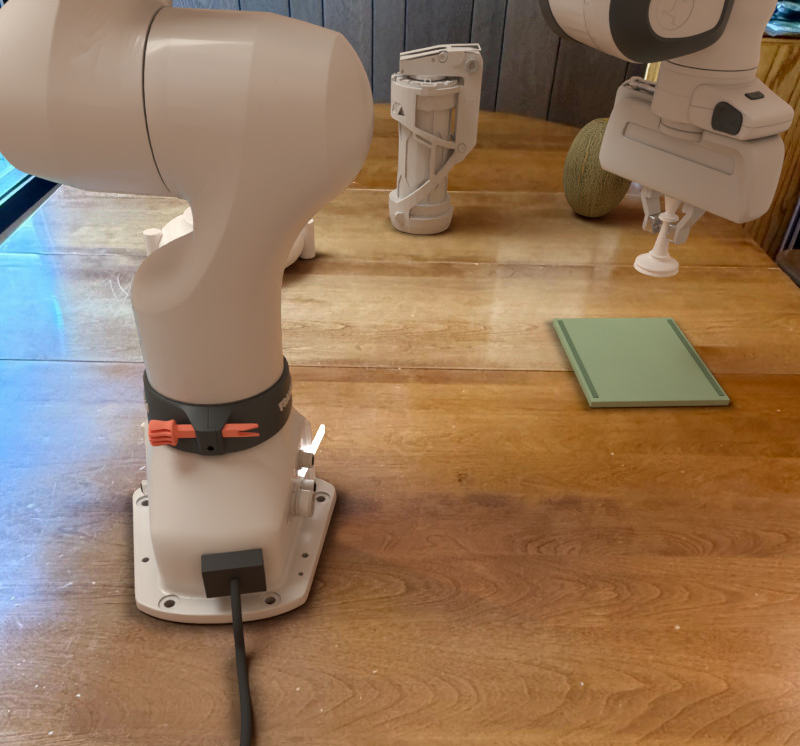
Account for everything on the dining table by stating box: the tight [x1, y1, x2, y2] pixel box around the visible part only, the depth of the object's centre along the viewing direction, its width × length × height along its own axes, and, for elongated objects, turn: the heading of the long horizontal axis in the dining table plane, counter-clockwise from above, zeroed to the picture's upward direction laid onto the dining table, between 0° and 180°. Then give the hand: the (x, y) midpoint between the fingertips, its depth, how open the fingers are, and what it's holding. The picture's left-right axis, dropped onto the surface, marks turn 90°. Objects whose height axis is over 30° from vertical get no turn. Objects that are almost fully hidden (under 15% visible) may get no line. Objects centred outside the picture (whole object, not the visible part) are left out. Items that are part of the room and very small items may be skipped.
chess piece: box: [633, 194, 683, 278], centre depth 84 cm, size 5×5×10 cm
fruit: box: [562, 117, 633, 218], centre depth 126 cm, size 11×11×15 cm
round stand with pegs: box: [142, 206, 316, 269], centre depth 111 cm, size 24×24×7 cm
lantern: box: [388, 43, 484, 235], centre depth 118 cm, size 13×10×25 cm
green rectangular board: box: [551, 317, 731, 408], centre depth 94 cm, size 20×16×1 cm
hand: (663, 236), depth 85 cm, fingers closed on chess piece
